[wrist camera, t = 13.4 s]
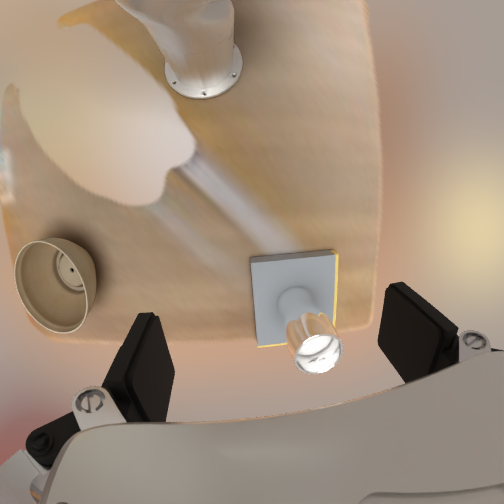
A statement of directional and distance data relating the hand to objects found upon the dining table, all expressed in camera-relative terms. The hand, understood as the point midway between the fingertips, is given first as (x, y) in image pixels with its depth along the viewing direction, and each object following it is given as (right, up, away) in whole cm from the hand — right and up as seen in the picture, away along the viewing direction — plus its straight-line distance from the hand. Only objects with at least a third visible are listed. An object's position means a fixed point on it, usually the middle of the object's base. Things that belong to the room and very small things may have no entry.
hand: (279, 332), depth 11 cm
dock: (+6, -5, +39) cm, 40 cm away
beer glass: (+6, -5, +36) cm, 37 cm away
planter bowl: (-34, 0, +35) cm, 49 cm away
